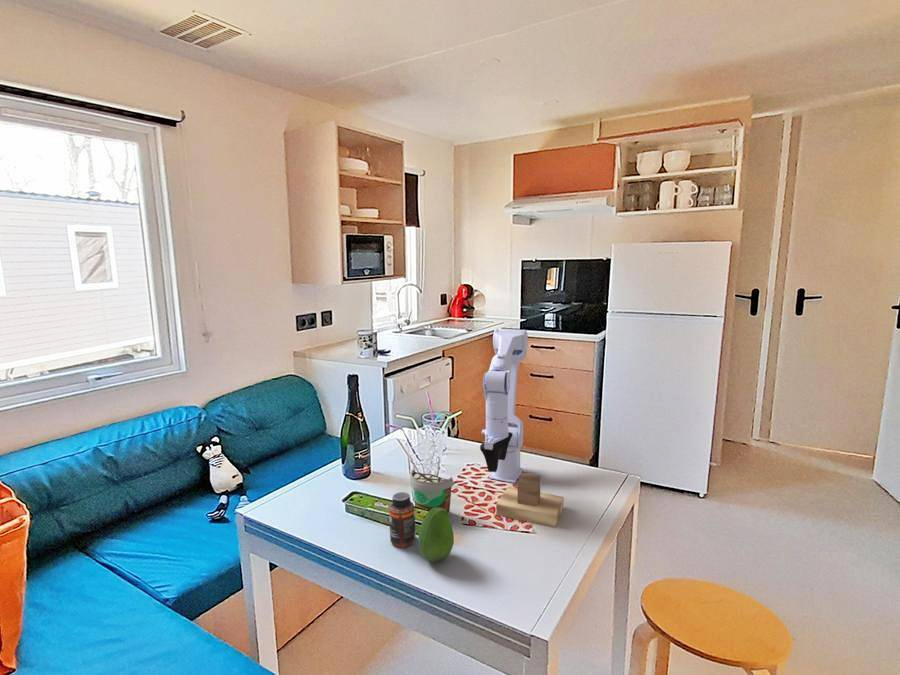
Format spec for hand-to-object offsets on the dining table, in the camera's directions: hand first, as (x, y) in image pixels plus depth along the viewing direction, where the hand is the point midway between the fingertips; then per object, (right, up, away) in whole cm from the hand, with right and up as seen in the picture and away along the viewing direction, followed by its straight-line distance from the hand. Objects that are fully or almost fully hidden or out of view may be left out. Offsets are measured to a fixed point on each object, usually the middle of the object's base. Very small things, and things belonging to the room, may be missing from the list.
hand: (496, 465), depth 131 cm
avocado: (-15, -15, -22) cm, 31 cm away
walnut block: (+8, -8, -4) cm, 12 cm away
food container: (-18, -12, -4) cm, 22 cm away
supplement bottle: (-23, -14, -15) cm, 31 cm away
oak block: (+8, -11, -3) cm, 14 cm away
